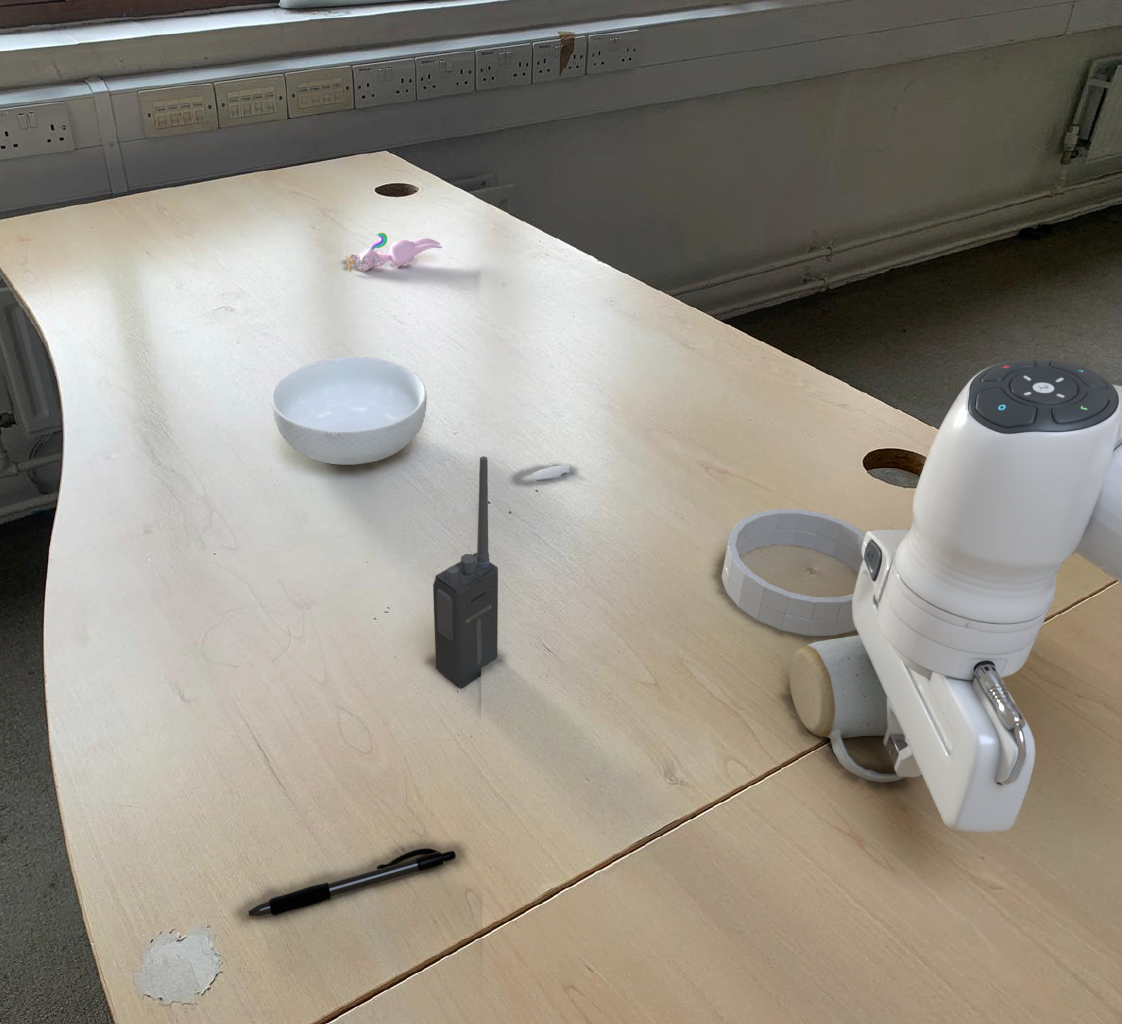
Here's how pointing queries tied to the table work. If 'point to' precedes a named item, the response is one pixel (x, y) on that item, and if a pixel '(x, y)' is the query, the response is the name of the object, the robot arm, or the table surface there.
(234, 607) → the table surface
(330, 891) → the pen
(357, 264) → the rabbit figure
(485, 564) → the walkie-talkie
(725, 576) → the gray band ring
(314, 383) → the cereal bowl
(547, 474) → the white elongated flat piece
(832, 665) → the ceramic mug
